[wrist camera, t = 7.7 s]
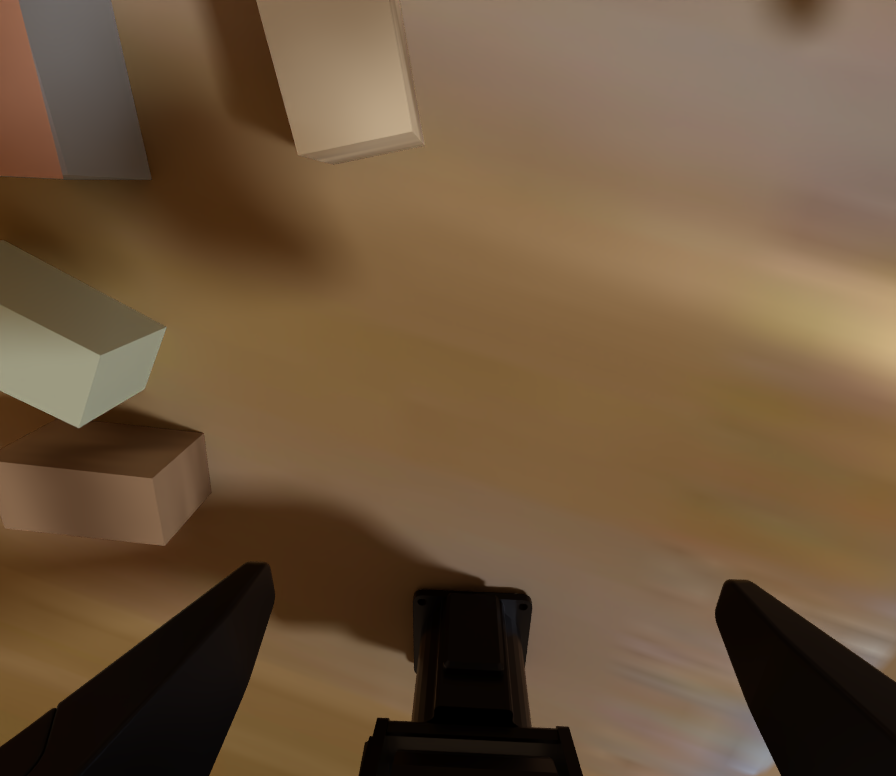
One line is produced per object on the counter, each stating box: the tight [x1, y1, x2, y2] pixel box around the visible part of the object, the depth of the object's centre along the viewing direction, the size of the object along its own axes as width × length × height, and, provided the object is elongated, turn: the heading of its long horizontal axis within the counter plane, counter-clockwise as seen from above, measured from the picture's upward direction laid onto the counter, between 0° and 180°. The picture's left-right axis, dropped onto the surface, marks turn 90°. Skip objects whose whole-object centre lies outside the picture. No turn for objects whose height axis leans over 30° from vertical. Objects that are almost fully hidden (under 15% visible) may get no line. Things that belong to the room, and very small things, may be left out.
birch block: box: [256, 0, 425, 165], centre depth 14 cm, size 7×4×4 cm, turn 10°
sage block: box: [0, 240, 166, 428], centre depth 18 cm, size 7×4×4 cm, turn 59°
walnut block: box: [0, 419, 212, 546], centre depth 21 cm, size 7×4×4 cm, turn 84°
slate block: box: [0, 0, 152, 180], centre depth 14 cm, size 7×4×4 cm, turn 0°
